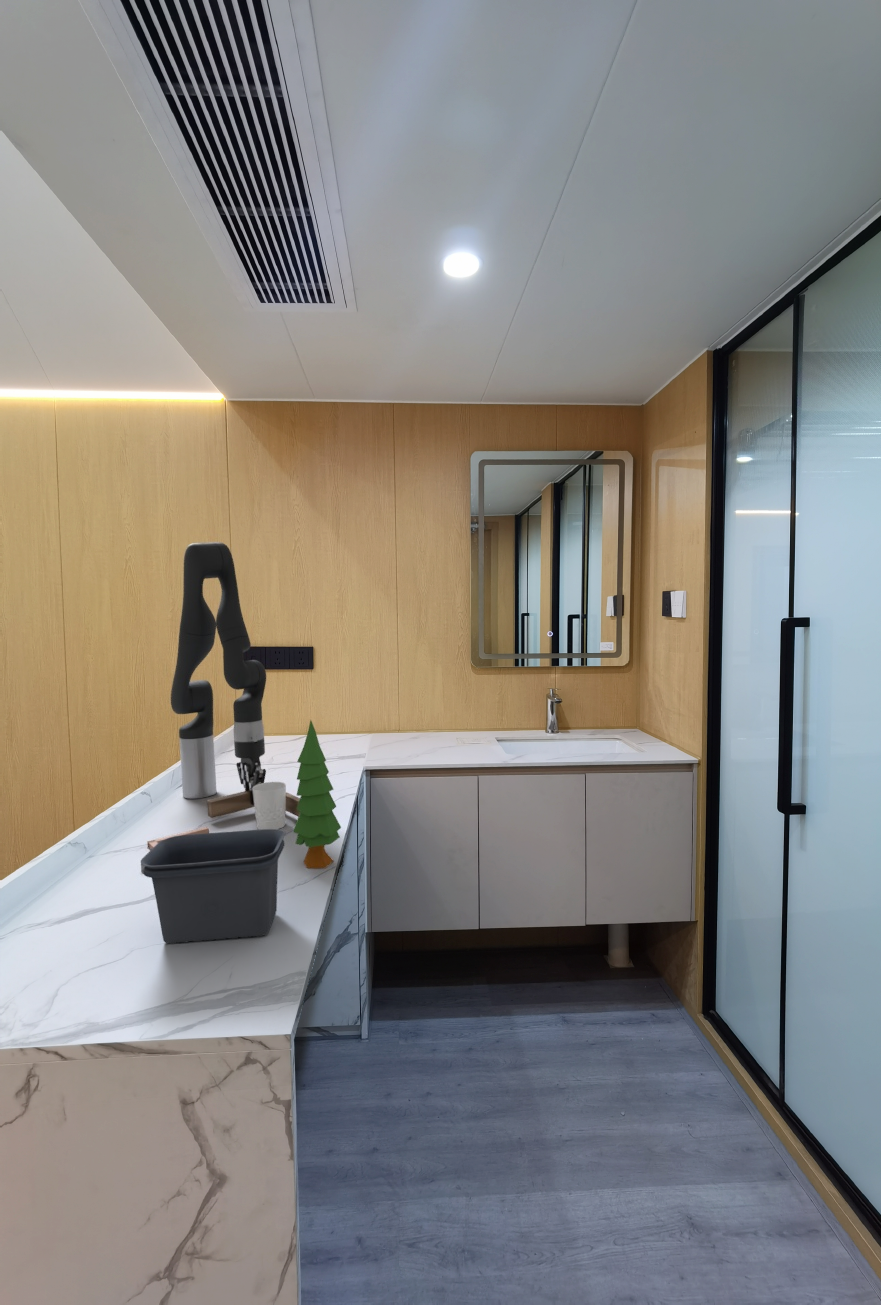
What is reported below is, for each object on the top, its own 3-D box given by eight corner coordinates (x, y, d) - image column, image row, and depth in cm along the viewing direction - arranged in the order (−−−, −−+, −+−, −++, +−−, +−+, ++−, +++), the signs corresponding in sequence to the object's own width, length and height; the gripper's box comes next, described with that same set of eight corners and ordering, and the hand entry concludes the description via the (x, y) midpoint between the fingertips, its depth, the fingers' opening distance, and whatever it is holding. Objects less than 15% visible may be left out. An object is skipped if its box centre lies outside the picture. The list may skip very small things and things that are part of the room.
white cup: (294, 822, 158) (292, 782, 157) (275, 833, 150) (273, 791, 150) (266, 819, 160) (264, 780, 160) (247, 830, 153) (245, 789, 152)
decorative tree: (325, 851, 138) (319, 714, 136) (351, 862, 131) (345, 719, 129) (286, 864, 131) (279, 721, 129) (311, 877, 124) (304, 726, 122)
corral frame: (147, 846, 144) (147, 841, 144) (207, 831, 153) (206, 826, 153) (168, 865, 133) (168, 860, 132) (231, 848, 141) (231, 843, 141)
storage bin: (139, 955, 98) (132, 865, 97) (173, 908, 113) (168, 830, 112) (279, 945, 99) (274, 856, 98) (294, 900, 115) (290, 823, 114)
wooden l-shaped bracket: (208, 815, 159) (206, 800, 159) (271, 799, 170) (270, 785, 170) (237, 834, 145) (236, 817, 145) (304, 815, 156) (303, 799, 156)
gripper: (224, 736, 167) (228, 800, 169) (246, 743, 157) (249, 812, 158) (251, 731, 172) (255, 794, 173) (274, 739, 162) (277, 805, 163)
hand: (252, 802), depth 166 cm, fingers closed on wooden l-shaped bracket, 2 cm apart
